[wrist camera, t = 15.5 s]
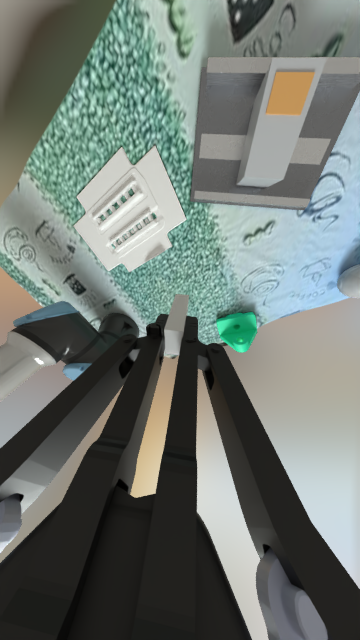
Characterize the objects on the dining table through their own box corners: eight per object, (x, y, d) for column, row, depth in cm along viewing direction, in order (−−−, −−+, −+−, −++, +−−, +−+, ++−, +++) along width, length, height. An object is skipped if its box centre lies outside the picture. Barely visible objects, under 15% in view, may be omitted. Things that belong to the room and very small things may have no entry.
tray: (65, 212, 38) (53, 211, 35) (147, 125, 28) (141, 113, 25) (117, 279, 47) (111, 283, 44) (193, 232, 37) (192, 233, 34)
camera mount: (252, 309, 46) (263, 329, 37) (254, 327, 50) (264, 349, 41) (215, 317, 49) (217, 337, 41) (220, 333, 53) (222, 354, 45)
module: (235, 186, 29) (244, 176, 22) (253, 102, 23) (273, 56, 17) (265, 188, 29) (284, 178, 22) (292, 103, 23) (328, 55, 16)
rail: (190, 201, 32) (189, 200, 30) (201, 72, 23) (201, 53, 20) (301, 210, 30) (311, 209, 28) (363, 74, 21) (387, 52, 18)
